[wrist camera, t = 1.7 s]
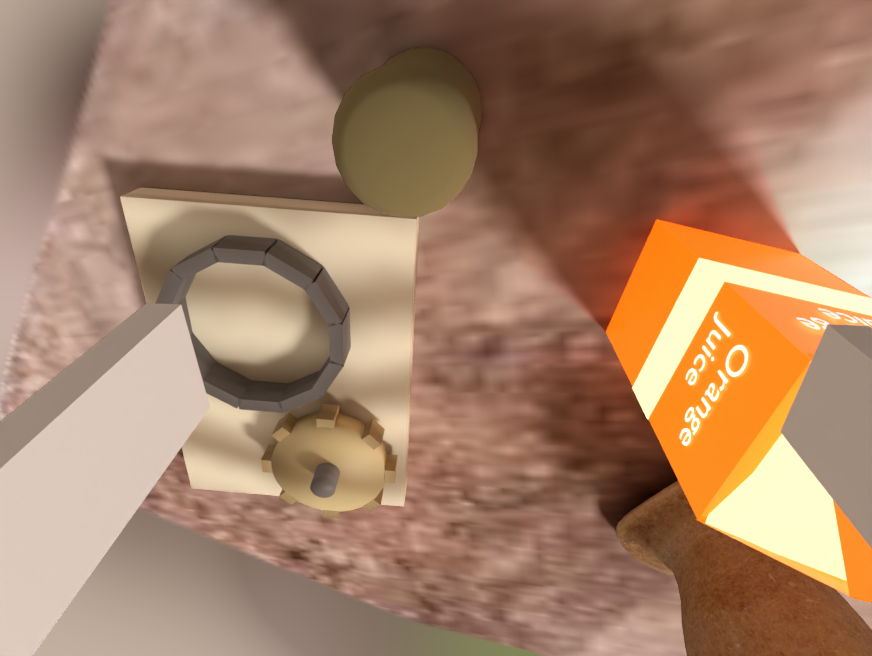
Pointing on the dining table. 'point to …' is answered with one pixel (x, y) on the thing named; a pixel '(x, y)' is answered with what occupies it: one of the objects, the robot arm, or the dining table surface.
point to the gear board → (289, 339)
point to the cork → (409, 133)
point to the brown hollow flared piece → (738, 589)
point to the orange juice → (740, 389)
